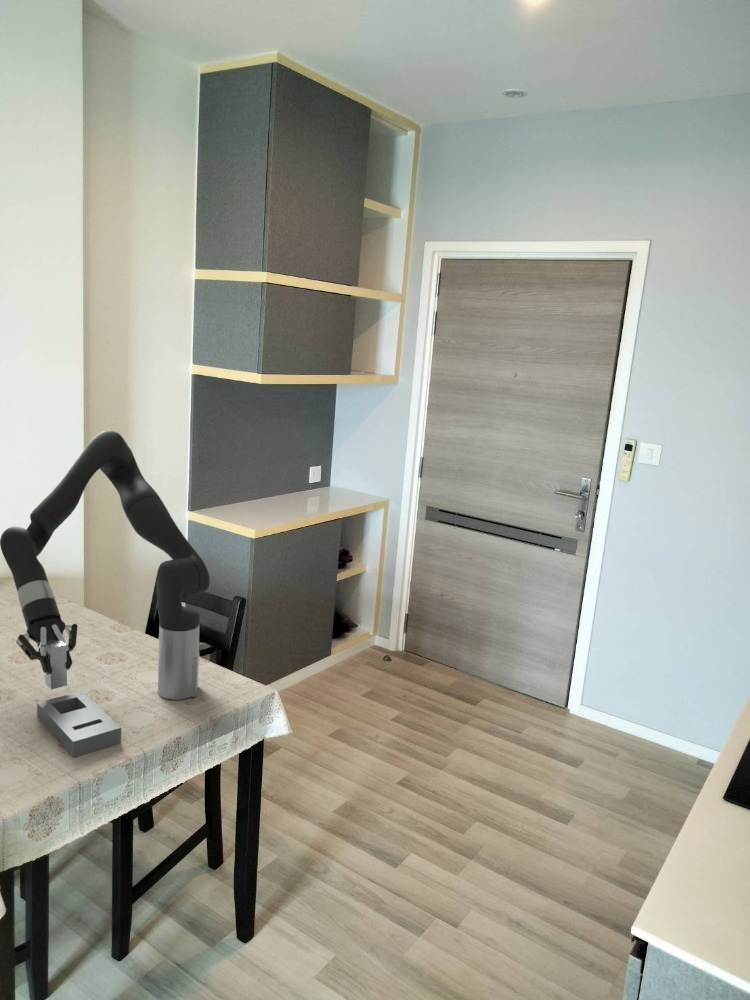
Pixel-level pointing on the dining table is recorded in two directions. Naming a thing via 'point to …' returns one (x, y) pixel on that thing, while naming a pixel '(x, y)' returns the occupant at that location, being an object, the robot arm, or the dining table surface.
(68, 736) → the holder
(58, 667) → the grey square peg
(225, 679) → the dining table surface
